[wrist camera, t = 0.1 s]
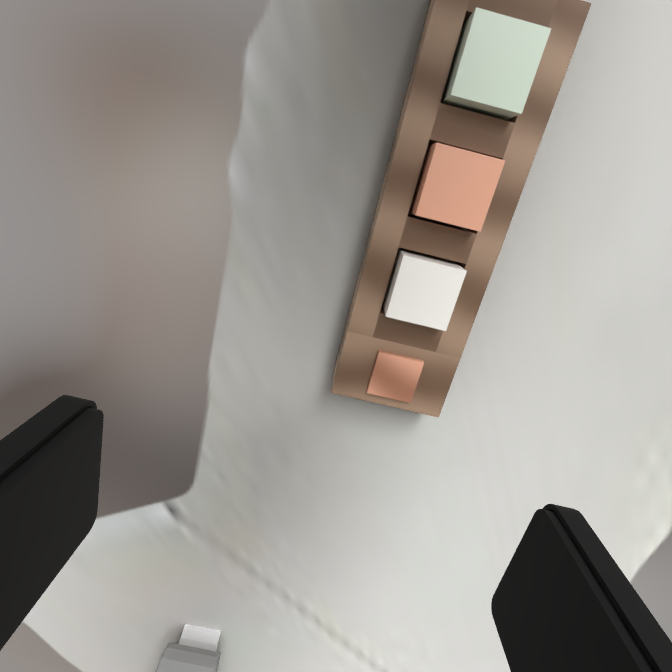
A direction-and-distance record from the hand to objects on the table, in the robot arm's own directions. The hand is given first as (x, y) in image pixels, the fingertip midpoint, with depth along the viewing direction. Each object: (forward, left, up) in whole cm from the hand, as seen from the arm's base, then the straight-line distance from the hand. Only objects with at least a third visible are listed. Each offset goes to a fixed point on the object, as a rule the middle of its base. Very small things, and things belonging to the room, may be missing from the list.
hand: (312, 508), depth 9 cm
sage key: (-16, +7, -29) cm, 33 cm away
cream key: (0, +7, -29) cm, 29 cm away
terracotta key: (-8, +7, -29) cm, 30 cm away
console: (-5, +7, -31) cm, 32 cm away
